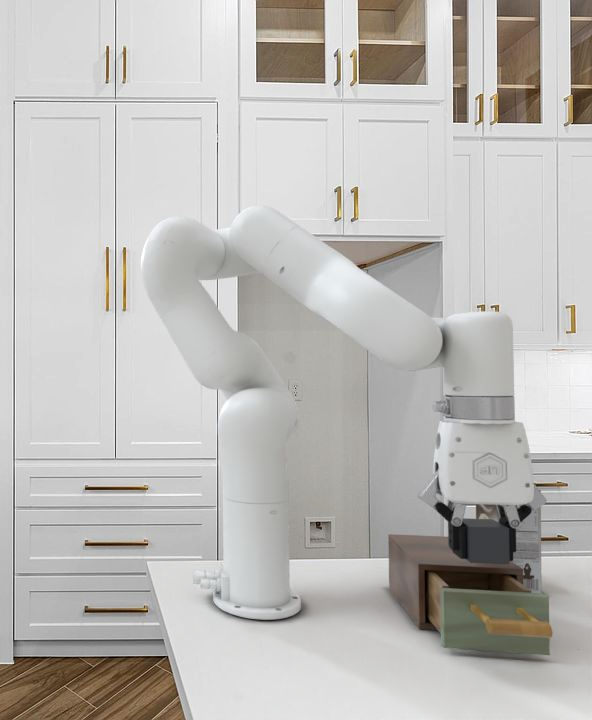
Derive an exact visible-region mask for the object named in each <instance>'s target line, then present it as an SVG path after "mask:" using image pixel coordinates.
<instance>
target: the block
mask: <svg viewBox="0 0 592 720" xmlns="http://www.w3.org/2000/svg"><path fill="white" fill-rule="evenodd" d="M463 526H465V527H466V528H467V558H466V560H468V561H469V562H470V563H488V564H510V560H509V528H508V527H506V526H504V525H502V524H500V523H498V522H497V521H495V520H493V519H476V518H465V517H463Z"/></svg>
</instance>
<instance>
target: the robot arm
mask: <svg viewBox="0 0 592 720" xmlns="http://www.w3.org/2000/svg"><path fill="white" fill-rule="evenodd" d="M258 274H262V275H263V276H264V277H266V279H268V280H270V281H271V282H272V283H274V284H275V285H276V286H278V287H279V288H280V289H282V290H283V291H285V293H287V294H288V295H290V296H291V297H292V298H293V299H295V300H297V302H299V303H301V304H302V305H303V306H304V307H306V308H307V309H308V310H309V311H311V312H313V313H315V314H317V315H319V316H321V317H322V318H323V319H325V320H327V321H328V322H329V323H331V324H332V325H333V326H334V327H336V328H338V329H339V330H340V331H341V332H342V333H344V334H345V335H347V336H348V337H350V339H352V340H353V341H355V342H356V343H358V344H359V345H360V346H362V347H363V348H364V349H365V350H367V351H368V352H370V353H371V354H372V355H374V356H375V357H376V358H377V359H379V360H380V361H382V362H383V363H385V364H386V365H387V366H389V367H391V368H394V369H396V370H398V371H399V370H400V371H404V372H405V371H406V372H416V371H422V370H429V369H438V368H443V382H444V383H443V389H444V391H443V396H442V399H441V400H439V401H438V400H437V401H435V400H434V401H433V402H432V411H433V412H435V413H441V414H442V416H443V417H444V419H442V420H439V422H438V427H437V432H436V437H435V444H434V451H433V452H434V453H433V467H432V476H431V477H430V478H429V480H428V481H427V482H426V483H425V485H424V486H423V487H422V489H421V490H420V491H419V493H418V495H417V497H418V498H419V500H421V501H423V503H426V504H427V505H428V506H430V507H431V508H432V509H434V510H435V511H436V512H437V513H438V514H439V515H440V516H441V517H442V518H443V519H444V520H445V521H446V522H447V537H448V543H449V548H450V549H451V550H452V551H453V553H454V554H455V555H457V556H458V557H459V558H460V559H466V558H467V528H466V527H465V526H463V518H465V513H466V509H467V505H476V504H490V505H496V507H497V511H498V514H499V518H500V519H499V522H498V523H500V524H502V525H504V526H506V527H508V528H509V560H510V561H513V552H516V528H519V527H520V524H521V522H522V521H523V520H524V519H525V518H526V517H528V516H529V515H530V514H531V512H532V511H535V510H536V509H538V508H539V507H541V508H542V507H543V506H544V505H546V504H547V498H546V497H545V496H544V495H543V493H542V491H541V492H540V491H539V490H540V489H538V487H537V486H536V485H535V483H534V471H533V464H532V456H531V450H530V446H529V441H528V436H527V432H526V428H525V425H524V423H523V422H521V421H516V408H515V405H516V403H515V365H514V363H515V361H514V328H513V327H514V326H513V321H512V318H511V316H509V315H508V313H505V312H501V311H489V310H488V311H487V310H485V311H484V310H483V311H468V312H459V313H454V314H451V315H449V316H448V317H431V316H430V315H428V314H427V313H425V312H424V310H422V309H420V308H419V307H417V306H416V305H414V304H413V303H411V302H410V301H408V300H407V299H405V298H404V297H402V296H401V295H399V294H398V293H397V292H395V291H393V290H392V289H390V288H389V287H388V286H386V285H385V284H383V283H381V281H378V280H377V279H375V278H374V277H373V276H371V275H370V274H368V273H367V272H365V271H364V270H362V269H361V268H360V267H358V266H357V265H356V264H355V263H354V262H353V261H352V260H350V258H348V257H346V256H344V255H343V254H342V253H341V252H340V251H338V250H336V249H334V248H333V247H332V246H330V245H328V244H327V243H325V242H324V241H322V240H321V239H319V238H318V237H316V236H315V235H314V234H312V233H311V232H309V231H308V230H306V229H305V228H303V227H302V226H301V225H300V224H297V223H296V222H295V221H293V220H291V218H290V217H287V216H285V215H284V214H283V213H281V212H280V211H279V210H277V209H275V208H272V207H271V206H267V205H262V204H257V205H251V206H249V207H246V208H245V209H243V210H242V211H240V212H239V213H238V214H237V215H236V217H235V218H234V219H233V220H232V223H231V225H230V226H229V227H225V228H218V229H211V228H210V227H208V226H206V225H204V224H203V223H201V222H199V221H198V220H196V219H193V218H192V217H191V218H190V217H187V216H179V215H178V216H177V215H176V216H171V217H167V218H165V219H163V220H161V221H160V222H159V223H157V224H156V225H155V226H154V227H153V228H152V230H151V231H150V233H149V234H148V236H147V238H146V240H145V243H144V246H143V249H142V253H141V259H140V275H141V280H142V284H143V287H144V290H145V292H146V294H147V297H148V299H149V301H150V303H151V305H152V307H153V308H154V310H155V311H156V314H157V315H158V317H159V318H160V319H161V322H162V323H163V325H164V327H165V328H166V330H167V332H168V334H169V336H170V338H171V340H172V341H173V343H174V345H175V346H176V348H177V349H178V352H179V353H180V355H181V356H182V358H183V360H184V362H185V363H186V366H187V367H188V369H189V371H190V373H191V375H192V376H193V377H194V379H195V381H197V383H199V384H200V385H201V386H203V387H205V388H207V389H210V390H216V391H217V390H220V392H222V394H223V396H224V397H225V399H226V401H225V403H224V404H223V405H222V407H221V409H220V412H219V414H218V419H217V437H218V446H219V453H220V460H221V479H222V480H221V482H222V485H221V487H222V488H221V489H222V490H221V491H222V555H223V556H222V560H223V561H222V563H223V564H221V565H220V569H214V572H212V571H205V570H193V573H192V575H193V576H192V577H193V578H192V582H193V585H200V589H201V590H202V589H203V590H211V589H212V590H213V593H212V600H213V603H214V605H215V606H216V607H217V608H219V609H220V610H222V611H223V612H225V613H228V614H230V615H233V616H235V617H241V618H245V619H252V620H259V621H264V620H265V621H270V620H271V621H273V620H281V619H282V620H283V619H288V618H289V617H293V616H295V615H297V614H298V613H299V612H300V611H301V610H302V598H301V596H300V595H299V594H298V593H297V592H295V591H294V590H293V589H290V588H291V586H290V585H291V581H290V576H291V575H290V571H291V570H290V569H291V568H290V498H289V496H290V494H289V491H290V490H289V489H290V488H289V485H290V484H289V469H288V459H287V449H286V443H287V442H288V441H290V440H291V439H292V438H293V437H294V435H295V434H296V432H297V430H298V428H299V425H300V411H299V406H298V404H297V402H296V400H295V399H294V397H293V395H292V393H291V392H290V391H289V389H288V387H287V385H286V384H285V382H284V381H283V379H282V377H281V376H280V374H279V373H278V372H277V370H276V368H275V367H274V365H273V364H272V362H271V360H270V359H269V357H268V356H267V354H266V353H265V351H264V349H262V347H261V346H260V344H258V342H257V341H256V340H255V339H253V338H252V337H251V336H249V335H248V334H246V333H244V332H241V331H238V330H235V329H233V328H232V327H231V325H230V324H229V323H228V321H227V320H226V318H225V317H224V315H223V314H222V313H221V311H220V309H219V308H218V306H217V304H216V302H215V300H214V299H213V297H212V296H211V295H210V293H209V292H208V290H207V289H206V288H205V286H204V285H203V284H202V283H201V281H215V280H223V279H230V278H231V279H232V278H238V277H244V276H252V275H258ZM437 495H439V496H441V497H443V498H445V499H446V504H445V503H444V502H443V501H441V500H439V499H438V498H437Z"/></svg>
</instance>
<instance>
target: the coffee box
mask: <svg viewBox="0 0 592 720" xmlns="http://www.w3.org/2000/svg"><path fill="white" fill-rule="evenodd" d="M538 490H539V491H540V492H541V493H542V490H541V489H538ZM475 519H493V520H495V521H497V522H499V519H500V518H499V514H498V511H497V507H496V505H490V504H475ZM512 562H513V563H515V564H516V565H518V566H519V567H521V568H522V569H523V585H524V586H525V587H527V588H528V589H530V590H531V593H542V592H543V590H542V588H543V587H542V585H543V583H542V506H541V507H539V508H538V509H536V510H535V511H532V512H531V514H530V515H529V516H528V517H526V518H525V519H524V520H523V521H522V522H521V524H520V527H519V528H516V552H513V561H512Z"/></svg>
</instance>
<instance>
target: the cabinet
mask: <svg viewBox="0 0 592 720" xmlns="http://www.w3.org/2000/svg"><path fill="white" fill-rule="evenodd" d="M387 536H388V590H389V591H390V593H391V594H392V595H393V597H394V598H395V599H396V600H397V602H398V603H399V604H400V605H401V607H402V608H403V610H404V611H405V612H406V613H407V615H408V616H409V617H410V619H411V620H412V622H413V623H414V624H415V625H416V627H417V628H418V629H419V630H431V631H438V630H437V628H436V627H435V626H434V625H433V624H432V622H431V621H430V620H429V619H428V618H427V616H426V615H425V570H434V571H454V572H474V573H494V574H509V575H510V576H511V577H513V578H514V579H516V580H517V581H518V582H520V583H521V584H523V569H522V568H521V567H519V566H518V565H516V564H515V563H513V562H512V561H510V564H488V563H470V562H469V561H468V560H466V559H460V558H459V557H458V556H457V555H455V554H454V553H453V551H452V550H451V549H450V548H449V543H448V536H442V535H441V536H440V535H439V536H438V535H419V534H418V535H416V534H392V533H391V534H388V535H387Z"/></svg>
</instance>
